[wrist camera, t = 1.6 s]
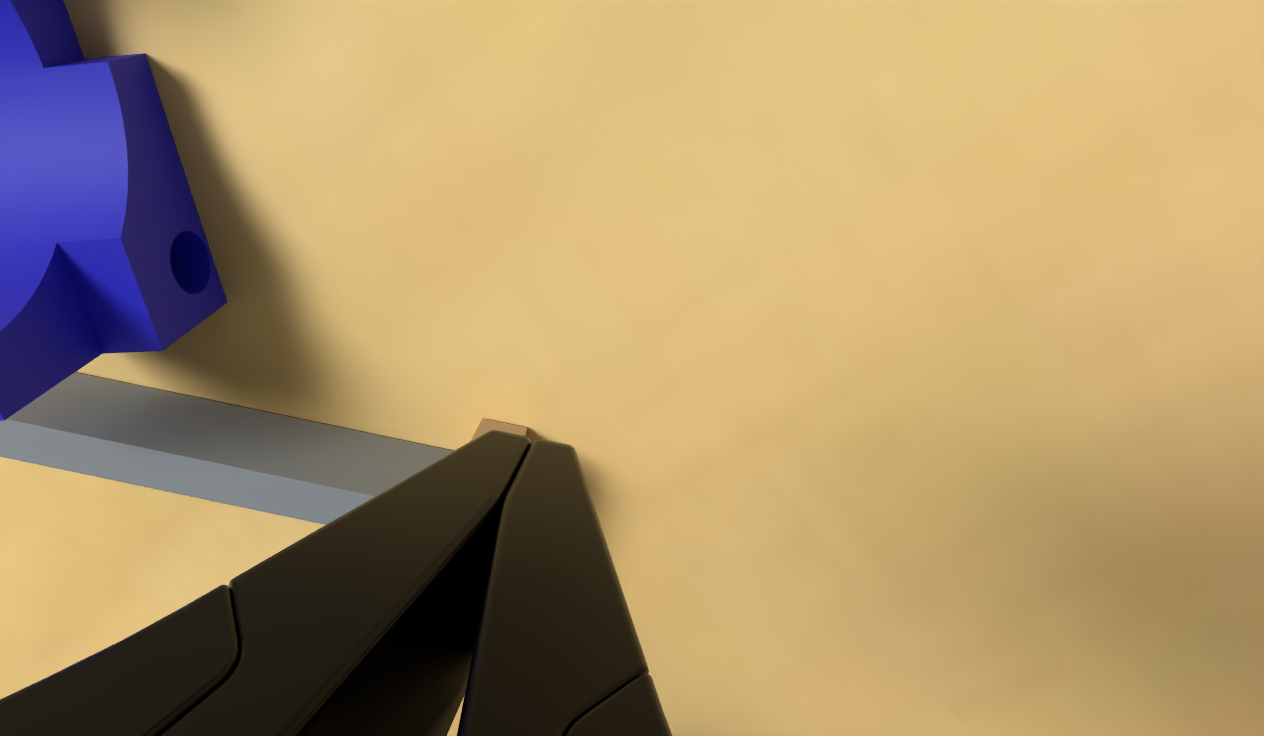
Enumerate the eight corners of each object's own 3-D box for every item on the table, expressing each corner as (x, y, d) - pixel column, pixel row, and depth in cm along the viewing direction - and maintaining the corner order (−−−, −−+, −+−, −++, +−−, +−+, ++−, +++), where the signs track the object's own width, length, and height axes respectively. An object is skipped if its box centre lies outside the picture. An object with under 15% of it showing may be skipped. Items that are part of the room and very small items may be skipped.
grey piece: (512, 534, 24) (490, 595, 22) (-80, 411, 25) (-161, 459, 23) (643, -425, 15) (626, -484, 13) (-335, -609, 15) (-521, -700, 13)
